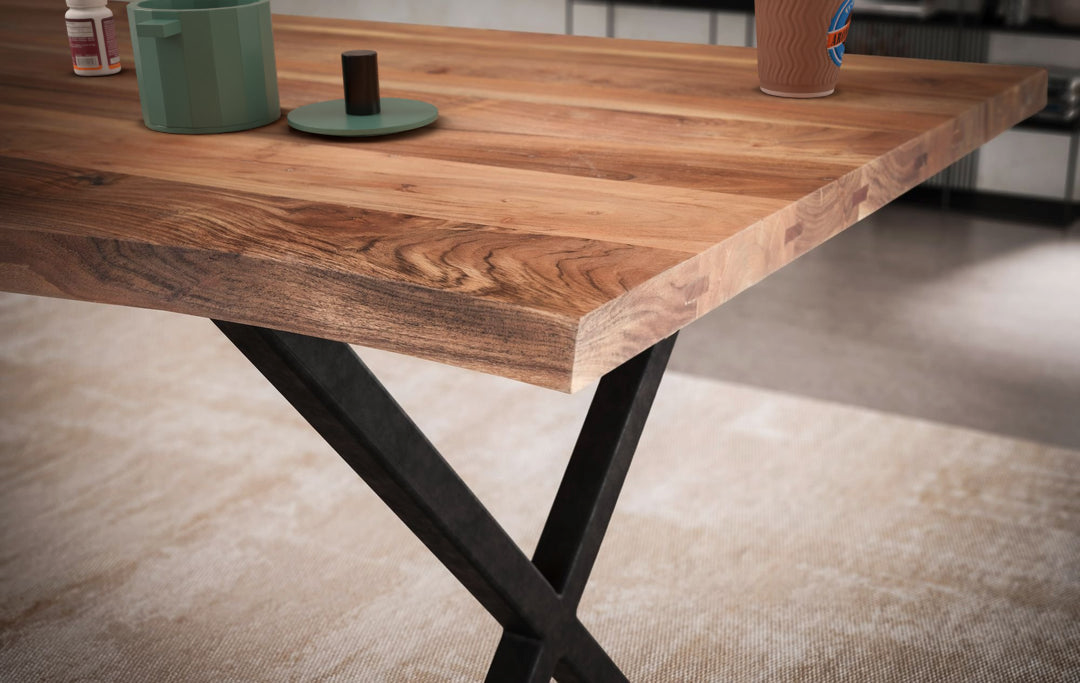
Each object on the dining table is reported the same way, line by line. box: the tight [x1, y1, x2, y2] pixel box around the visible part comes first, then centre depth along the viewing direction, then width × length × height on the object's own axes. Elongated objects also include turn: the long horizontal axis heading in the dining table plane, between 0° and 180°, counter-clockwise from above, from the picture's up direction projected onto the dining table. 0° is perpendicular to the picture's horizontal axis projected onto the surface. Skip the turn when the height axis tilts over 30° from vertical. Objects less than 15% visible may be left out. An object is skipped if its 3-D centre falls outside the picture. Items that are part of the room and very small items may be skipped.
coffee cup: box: [754, 0, 855, 99], centre depth 109 cm, size 10×10×12 cm
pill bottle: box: [64, 0, 122, 77], centre depth 123 cm, size 5×5×8 cm
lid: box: [286, 49, 440, 138], centre depth 99 cm, size 13×13×6 cm
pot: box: [126, 0, 282, 135], centre depth 101 cm, size 12×17×10 cm
